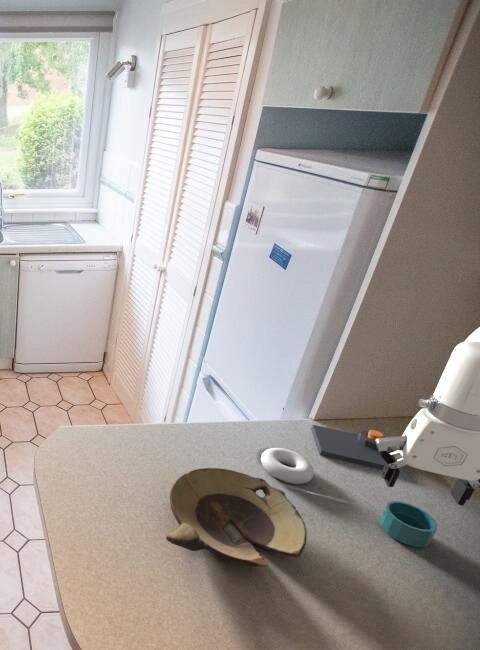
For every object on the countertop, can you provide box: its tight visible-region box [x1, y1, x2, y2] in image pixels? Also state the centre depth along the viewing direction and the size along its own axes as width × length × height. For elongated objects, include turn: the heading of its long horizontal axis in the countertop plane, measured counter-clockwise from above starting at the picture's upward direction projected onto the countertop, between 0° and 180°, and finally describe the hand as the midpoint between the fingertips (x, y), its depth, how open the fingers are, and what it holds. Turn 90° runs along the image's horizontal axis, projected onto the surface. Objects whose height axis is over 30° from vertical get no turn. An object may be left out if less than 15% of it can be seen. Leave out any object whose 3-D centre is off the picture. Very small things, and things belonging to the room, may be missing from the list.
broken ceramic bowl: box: [165, 467, 308, 568], centre depth 87 cm, size 22×30×8 cm
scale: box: [310, 424, 390, 471], centre depth 108 cm, size 14×11×3 cm
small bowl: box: [378, 500, 439, 548], centre depth 86 cm, size 7×7×4 cm
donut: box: [260, 447, 315, 485], centre depth 102 cm, size 10×4×10 cm
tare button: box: [367, 429, 384, 441], centre depth 108 cm, size 3×3×2 cm
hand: (421, 490), depth 83 cm, fingers open, 9 cm apart
